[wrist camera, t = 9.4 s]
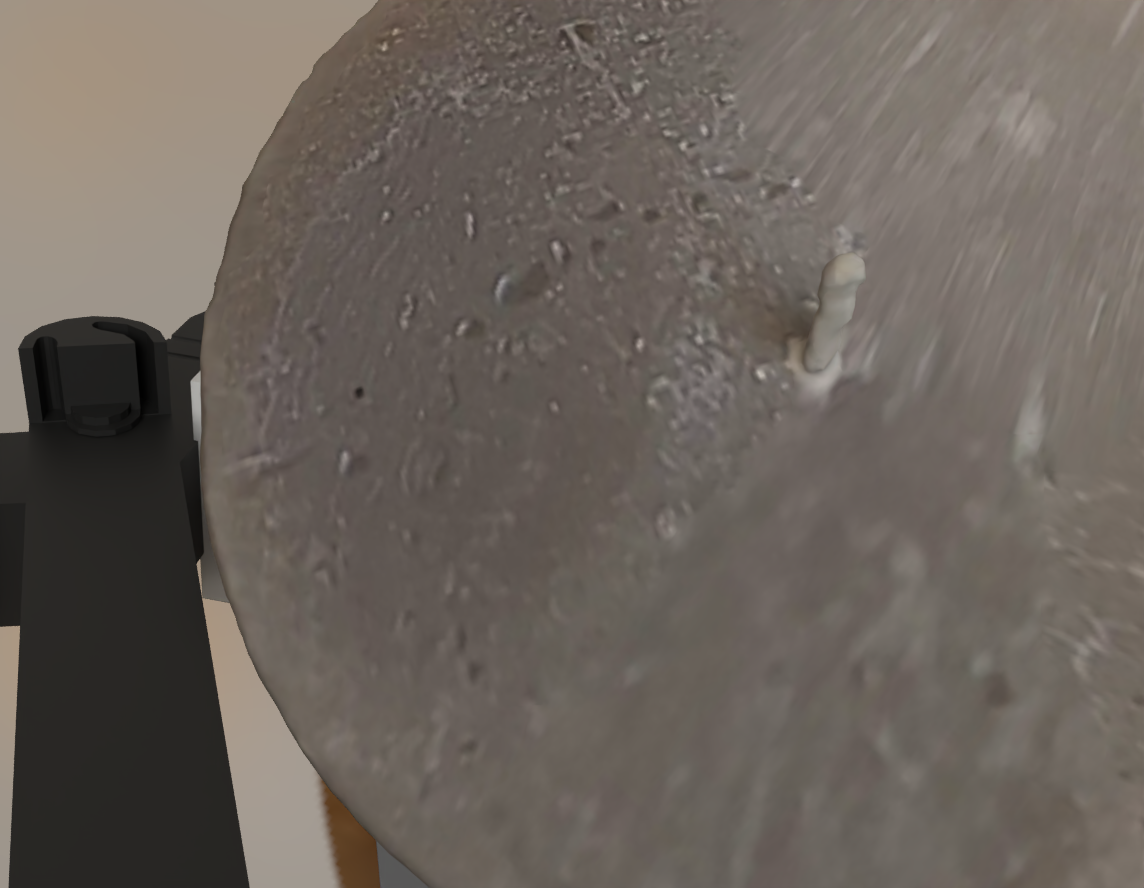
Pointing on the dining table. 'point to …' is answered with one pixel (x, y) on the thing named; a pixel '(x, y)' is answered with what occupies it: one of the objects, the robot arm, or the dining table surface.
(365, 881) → the dining table surface
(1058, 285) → the pillar candle
